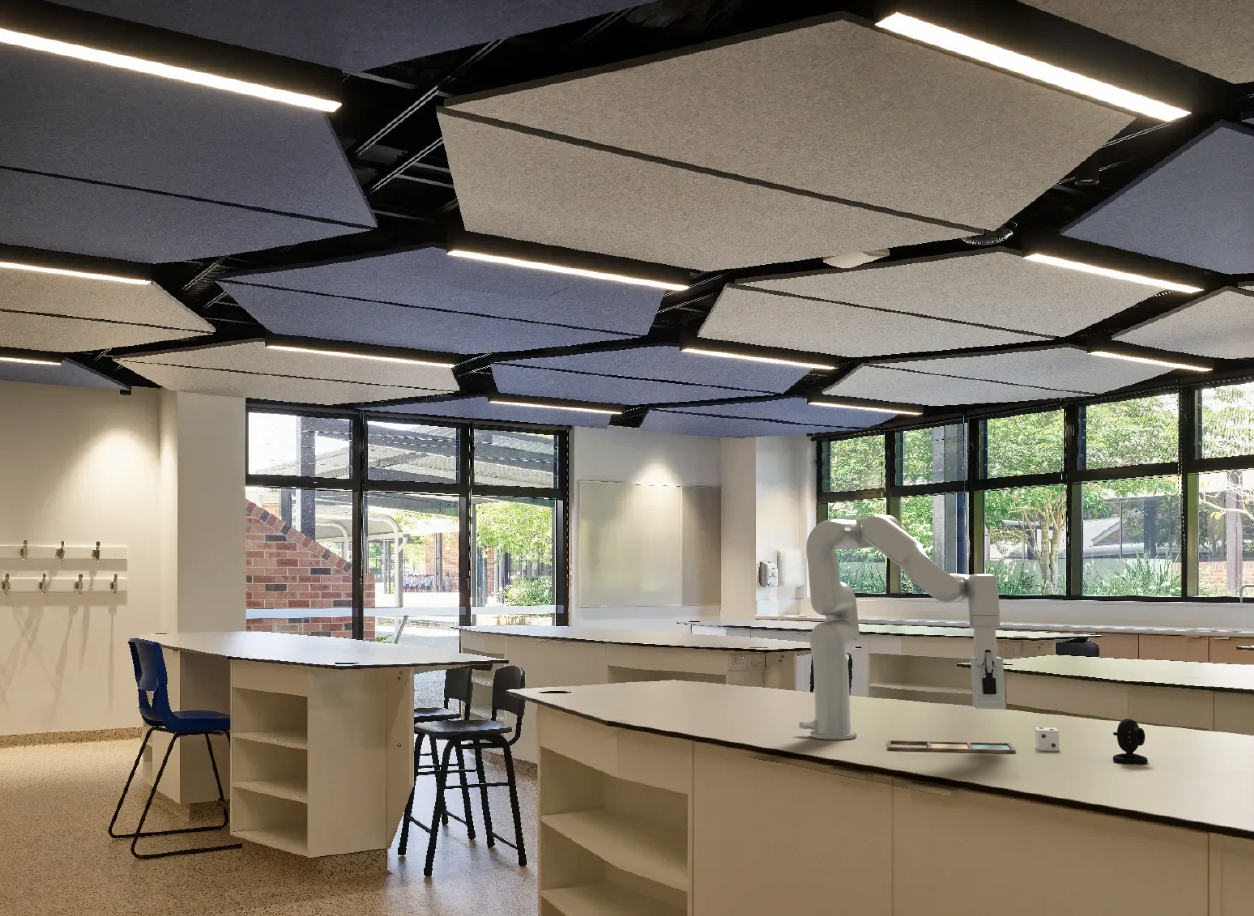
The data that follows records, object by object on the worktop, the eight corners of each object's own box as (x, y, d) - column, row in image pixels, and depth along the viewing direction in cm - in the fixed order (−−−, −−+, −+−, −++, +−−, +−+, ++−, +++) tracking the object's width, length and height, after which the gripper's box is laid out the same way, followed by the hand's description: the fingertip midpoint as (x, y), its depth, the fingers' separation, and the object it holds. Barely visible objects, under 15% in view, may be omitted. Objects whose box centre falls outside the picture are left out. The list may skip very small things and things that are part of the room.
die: (1038, 750, 273) (1037, 729, 273) (1035, 747, 277) (1034, 726, 278) (1059, 751, 271) (1058, 730, 272) (1056, 747, 276) (1055, 727, 277)
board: (887, 750, 275) (887, 747, 275) (887, 743, 286) (887, 740, 286) (1015, 753, 268) (1015, 750, 268) (1010, 746, 279) (1010, 742, 279)
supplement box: (1006, 709, 272) (1003, 658, 273) (975, 709, 273) (972, 658, 274) (1002, 705, 279) (999, 656, 280) (972, 705, 280) (969, 656, 282)
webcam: (1136, 766, 249) (1134, 721, 250) (1106, 761, 255) (1103, 718, 256) (1154, 762, 254) (1151, 718, 255) (1124, 758, 260) (1121, 715, 261)
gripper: (966, 620, 287) (970, 688, 286) (971, 624, 271) (975, 696, 269) (996, 620, 286) (1000, 688, 284) (1003, 623, 269) (1007, 696, 267)
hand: (988, 691), depth 276 cm, fingers closed on supplement box, 7 cm apart
